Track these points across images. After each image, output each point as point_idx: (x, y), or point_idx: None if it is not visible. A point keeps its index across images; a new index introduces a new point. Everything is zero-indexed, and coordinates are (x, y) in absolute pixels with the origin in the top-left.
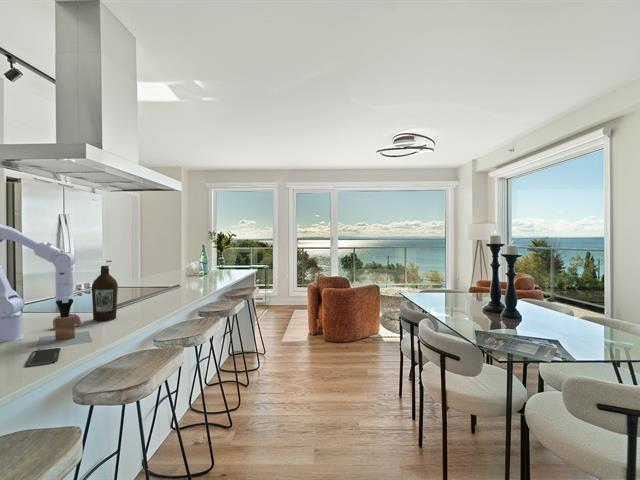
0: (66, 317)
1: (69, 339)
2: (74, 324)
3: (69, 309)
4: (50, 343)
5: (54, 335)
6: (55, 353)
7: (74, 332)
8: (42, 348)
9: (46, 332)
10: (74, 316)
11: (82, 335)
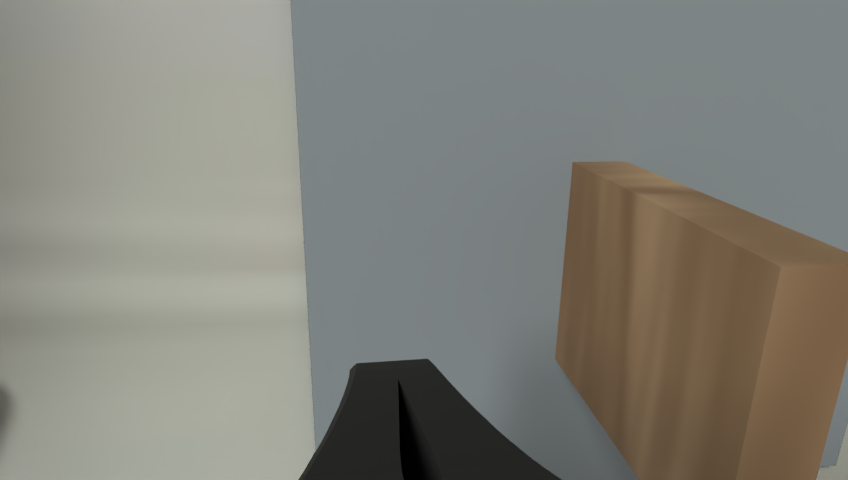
0: (774, 416)
1: None
2: (745, 216)
3: (547, 477)
4: None
5: (321, 381)
6: None
7: (665, 181)
8: (832, 435)
9: (10, 472)
10: (784, 268)
11: (542, 61)
